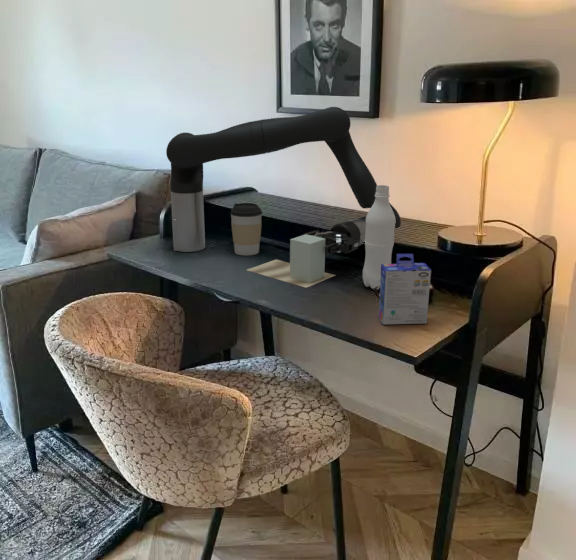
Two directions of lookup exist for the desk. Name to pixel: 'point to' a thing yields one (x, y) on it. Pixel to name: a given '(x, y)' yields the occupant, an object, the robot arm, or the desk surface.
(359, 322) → the desk surface
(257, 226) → the coffee cup
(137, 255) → the desk surface
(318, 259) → the pale upright block
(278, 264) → the oak board
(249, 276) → the desk surface
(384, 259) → the water bottle
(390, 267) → the ink cartridge box
